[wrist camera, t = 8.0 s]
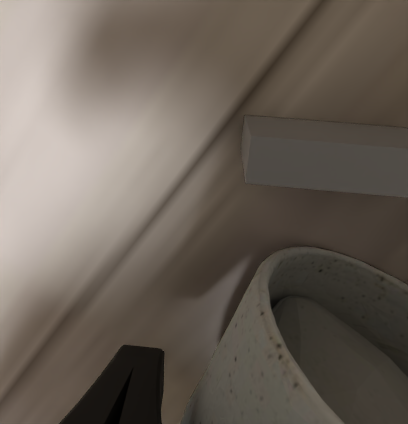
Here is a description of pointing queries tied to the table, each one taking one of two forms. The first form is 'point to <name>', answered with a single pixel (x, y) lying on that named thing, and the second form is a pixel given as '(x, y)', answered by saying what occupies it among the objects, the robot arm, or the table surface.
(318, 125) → the box
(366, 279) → the ceramic mug
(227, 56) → the table surface
